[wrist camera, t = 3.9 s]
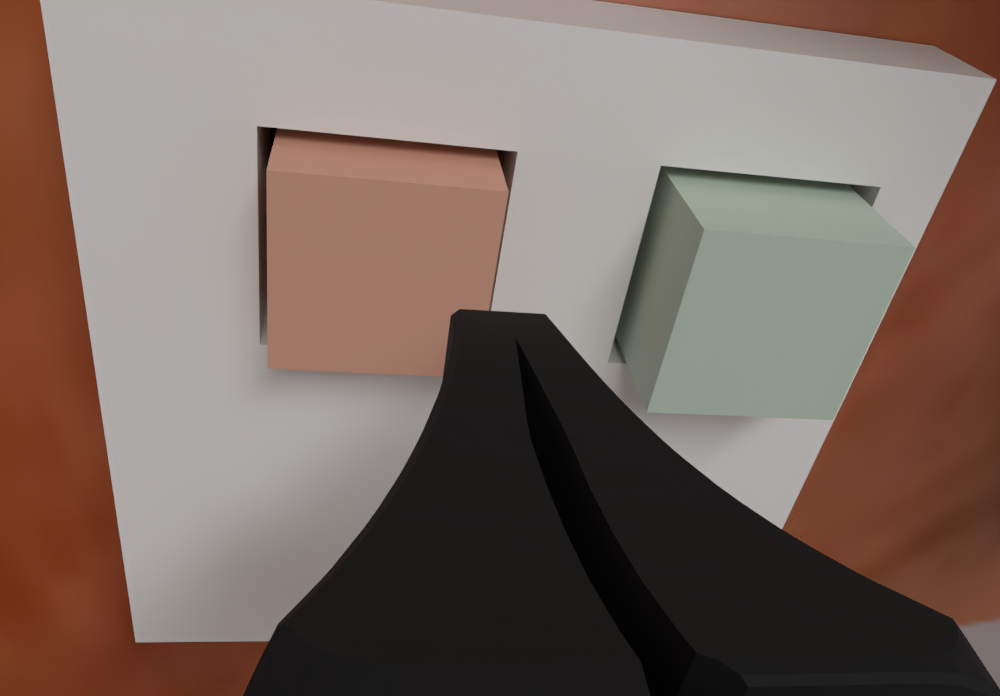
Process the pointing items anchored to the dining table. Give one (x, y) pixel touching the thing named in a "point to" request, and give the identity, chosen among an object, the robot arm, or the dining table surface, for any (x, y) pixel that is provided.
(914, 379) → the dining table surface
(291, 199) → the terracotta button
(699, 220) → the sage button
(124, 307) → the white button panel
